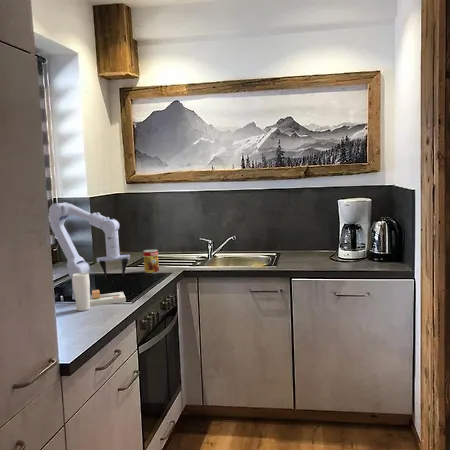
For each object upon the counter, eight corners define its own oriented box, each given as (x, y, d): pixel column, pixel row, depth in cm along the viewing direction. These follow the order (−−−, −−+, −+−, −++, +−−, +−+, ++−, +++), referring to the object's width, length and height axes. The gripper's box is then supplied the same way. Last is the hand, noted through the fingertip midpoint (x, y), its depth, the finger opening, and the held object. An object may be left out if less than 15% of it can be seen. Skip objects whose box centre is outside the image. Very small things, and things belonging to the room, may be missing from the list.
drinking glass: (93, 307, 226) (90, 272, 224) (89, 311, 219) (87, 275, 218) (77, 308, 226) (74, 273, 224) (73, 312, 219) (70, 276, 218)
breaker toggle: (92, 296, 236) (91, 290, 236) (99, 295, 237) (98, 289, 237) (93, 298, 231) (92, 292, 231) (100, 297, 232) (99, 291, 232)
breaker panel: (86, 300, 238) (86, 295, 238) (123, 296, 243) (122, 291, 243) (87, 306, 228) (87, 301, 228) (125, 301, 232) (125, 296, 232)
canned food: (156, 273, 291) (155, 251, 290) (142, 273, 293) (141, 252, 291) (161, 270, 299) (159, 249, 297) (147, 270, 300) (146, 249, 299)
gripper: (96, 249, 233) (98, 280, 235) (129, 246, 237) (132, 276, 239) (95, 247, 240) (97, 277, 242) (128, 244, 244) (130, 273, 246)
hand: (114, 276), depth 241 cm, fingers open, 7 cm apart
